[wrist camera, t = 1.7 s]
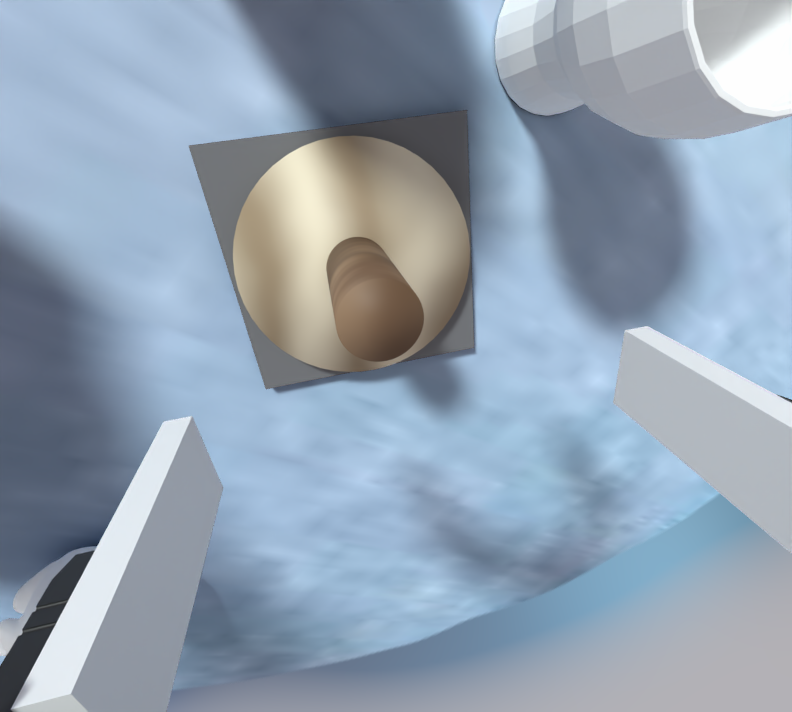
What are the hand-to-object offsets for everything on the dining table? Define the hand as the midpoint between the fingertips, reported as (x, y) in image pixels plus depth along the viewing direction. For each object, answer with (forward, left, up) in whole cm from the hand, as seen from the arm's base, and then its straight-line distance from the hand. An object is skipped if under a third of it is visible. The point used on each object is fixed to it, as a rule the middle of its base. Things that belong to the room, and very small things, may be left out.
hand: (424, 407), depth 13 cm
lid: (0, 0, -17) cm, 17 cm away
